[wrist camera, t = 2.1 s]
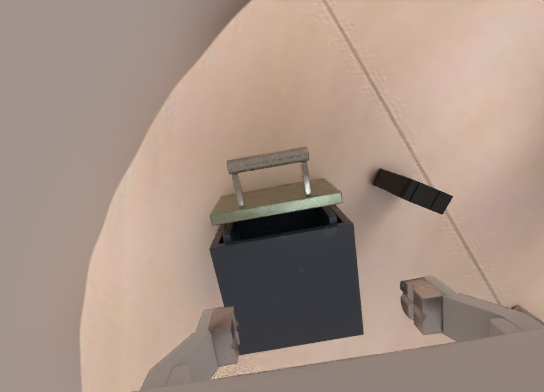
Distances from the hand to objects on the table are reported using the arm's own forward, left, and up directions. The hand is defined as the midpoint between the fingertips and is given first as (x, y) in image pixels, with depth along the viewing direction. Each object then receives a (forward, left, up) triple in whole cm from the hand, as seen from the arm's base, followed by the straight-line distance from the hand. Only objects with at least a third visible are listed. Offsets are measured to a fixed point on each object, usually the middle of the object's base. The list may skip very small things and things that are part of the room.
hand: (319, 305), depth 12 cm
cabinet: (+9, +2, -22) cm, 24 cm away
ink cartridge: (-4, +14, -22) cm, 26 cm away
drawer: (+3, 0, -21) cm, 21 cm away
